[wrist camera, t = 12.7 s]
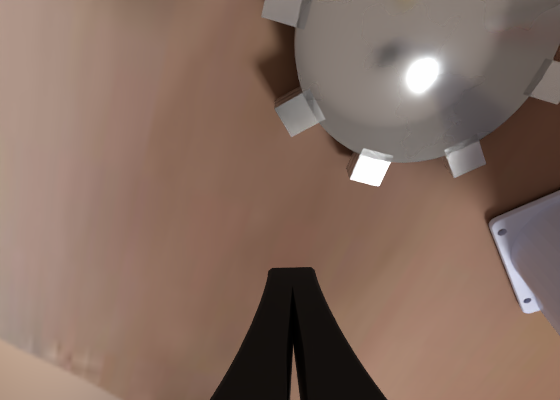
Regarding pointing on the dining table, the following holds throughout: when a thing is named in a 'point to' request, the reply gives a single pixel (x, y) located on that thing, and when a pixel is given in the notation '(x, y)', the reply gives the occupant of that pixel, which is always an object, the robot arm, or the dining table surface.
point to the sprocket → (416, 74)
